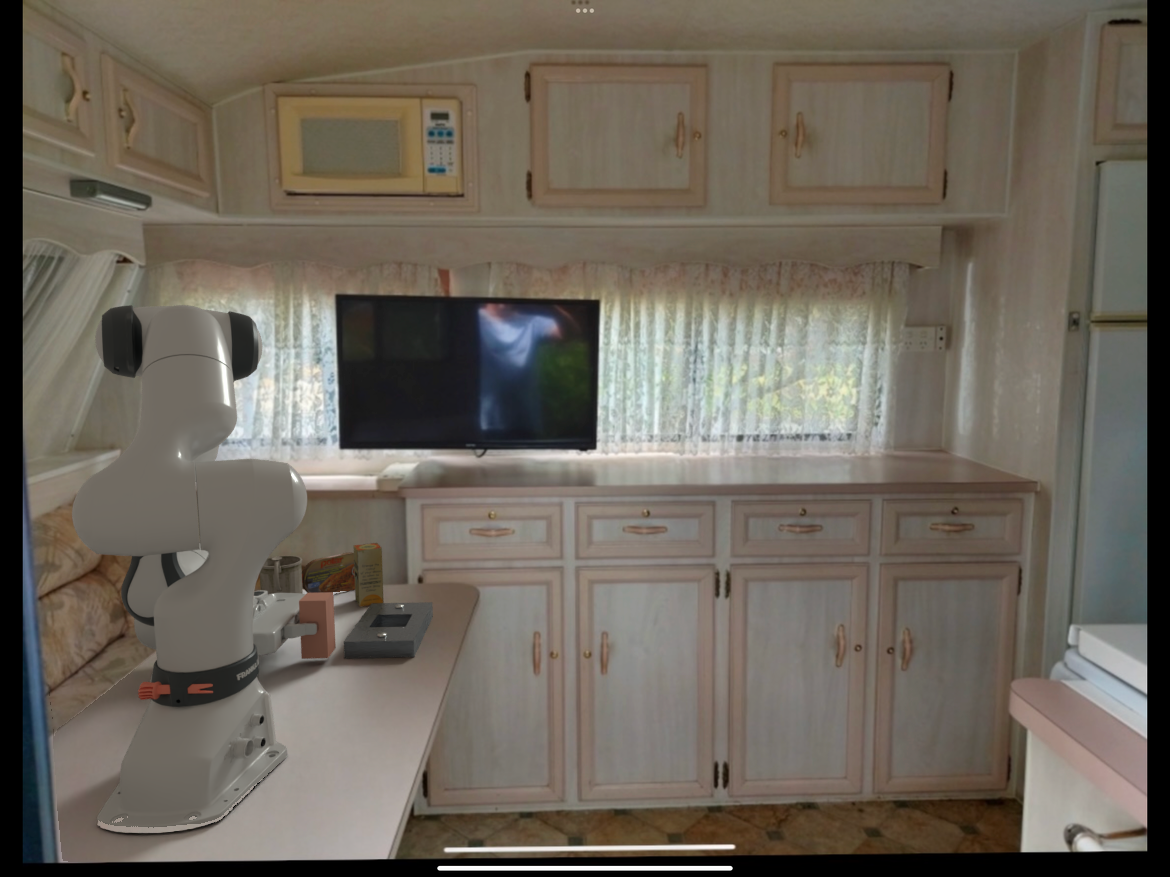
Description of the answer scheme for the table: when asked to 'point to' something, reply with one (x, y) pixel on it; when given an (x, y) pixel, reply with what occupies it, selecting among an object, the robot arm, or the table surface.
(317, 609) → the square peg
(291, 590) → the mug
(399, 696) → the table surface
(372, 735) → the table surface
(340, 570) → the tin
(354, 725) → the table surface
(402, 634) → the block with square hole
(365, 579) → the shoe polish box
